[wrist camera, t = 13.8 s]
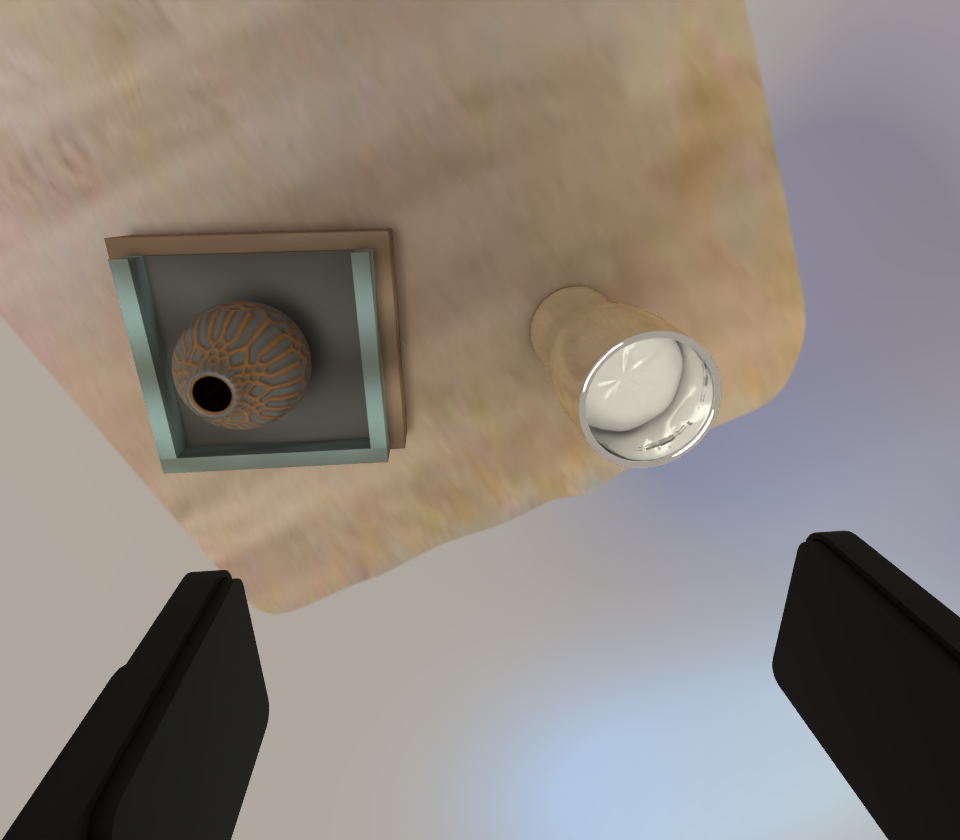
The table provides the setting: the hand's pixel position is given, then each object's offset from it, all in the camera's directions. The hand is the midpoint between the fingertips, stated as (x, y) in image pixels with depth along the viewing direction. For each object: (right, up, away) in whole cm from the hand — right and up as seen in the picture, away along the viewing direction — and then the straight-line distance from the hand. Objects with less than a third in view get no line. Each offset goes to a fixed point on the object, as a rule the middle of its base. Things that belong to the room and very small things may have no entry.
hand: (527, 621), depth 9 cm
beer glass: (+6, +10, +30) cm, 32 cm away
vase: (-14, +8, +25) cm, 30 cm away
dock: (-14, +9, +28) cm, 33 cm away
